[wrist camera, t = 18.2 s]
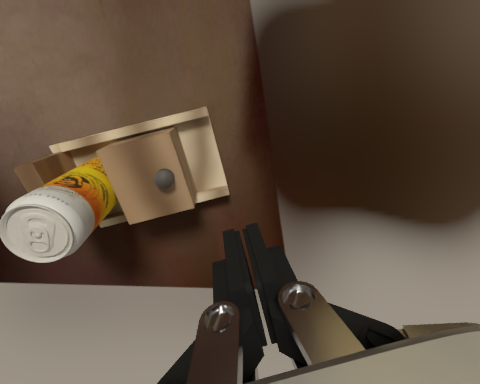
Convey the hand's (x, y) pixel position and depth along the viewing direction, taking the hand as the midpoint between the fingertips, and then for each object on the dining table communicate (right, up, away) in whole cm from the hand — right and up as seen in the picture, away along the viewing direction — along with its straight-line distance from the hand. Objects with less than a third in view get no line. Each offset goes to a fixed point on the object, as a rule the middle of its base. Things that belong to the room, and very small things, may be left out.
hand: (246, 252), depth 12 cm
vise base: (-13, +6, +23) cm, 27 cm away
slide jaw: (-11, +6, +22) cm, 25 cm away
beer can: (-18, +5, +22) cm, 29 cm away
